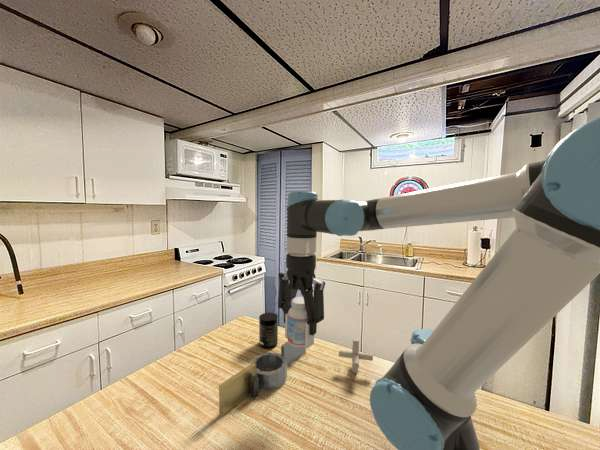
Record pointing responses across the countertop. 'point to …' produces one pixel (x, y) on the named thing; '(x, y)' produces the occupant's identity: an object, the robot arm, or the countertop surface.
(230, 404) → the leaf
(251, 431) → the countertop surface
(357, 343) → the pipe connector
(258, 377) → the hinge base
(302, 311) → the pill bottle
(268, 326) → the supplement container
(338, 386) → the countertop surface
